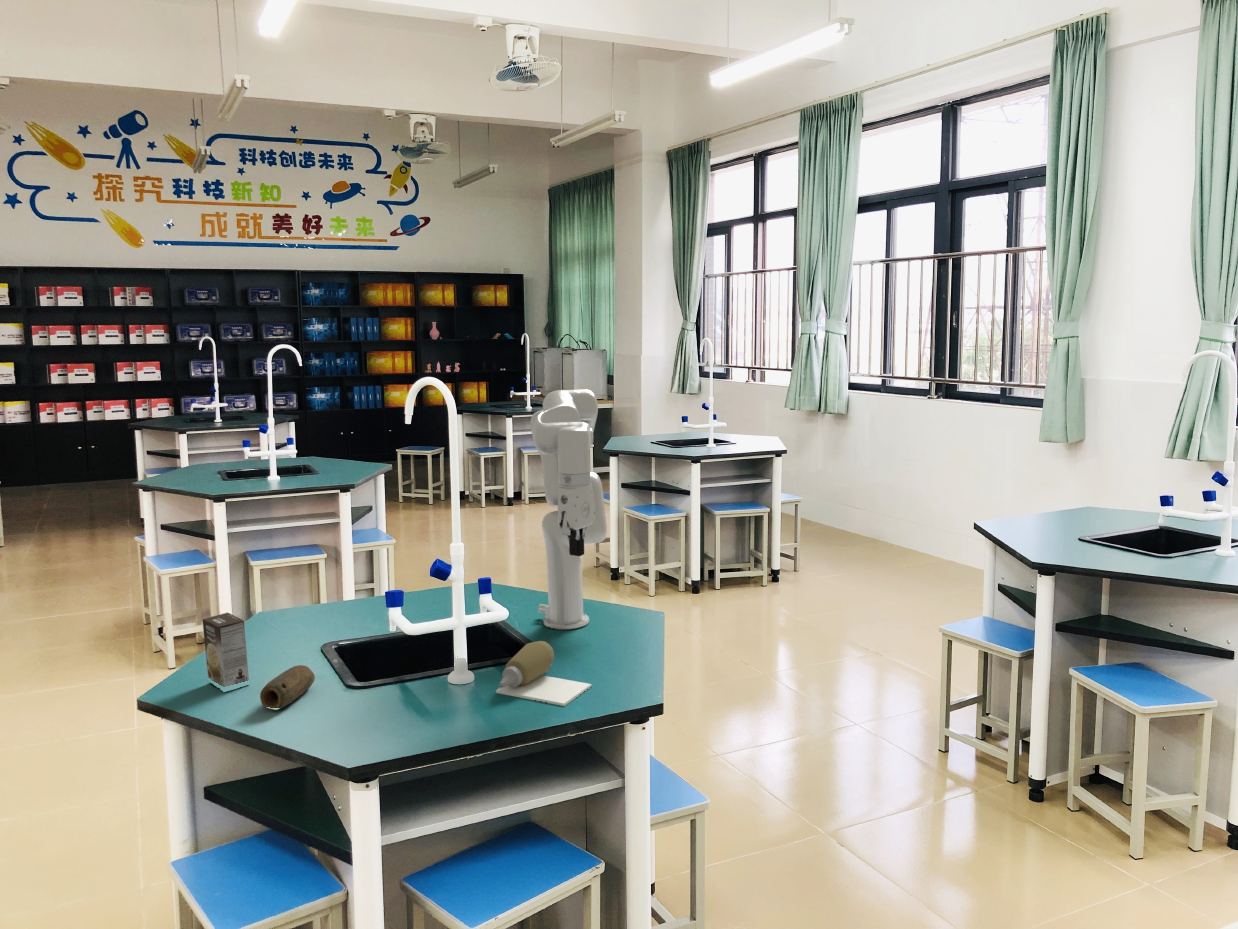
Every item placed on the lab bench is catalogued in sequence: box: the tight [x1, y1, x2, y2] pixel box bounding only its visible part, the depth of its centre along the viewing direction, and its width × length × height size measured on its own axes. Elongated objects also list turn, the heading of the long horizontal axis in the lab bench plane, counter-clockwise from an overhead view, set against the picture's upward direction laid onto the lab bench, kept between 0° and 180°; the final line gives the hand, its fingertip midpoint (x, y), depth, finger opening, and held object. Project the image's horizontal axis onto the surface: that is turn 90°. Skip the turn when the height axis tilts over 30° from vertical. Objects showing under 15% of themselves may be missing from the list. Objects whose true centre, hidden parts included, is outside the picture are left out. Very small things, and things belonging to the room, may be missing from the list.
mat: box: [495, 674, 593, 707], centre depth 214 cm, size 18×12×1 cm, turn 62°
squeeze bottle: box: [498, 640, 555, 688], centre depth 217 cm, size 8×8×18 cm
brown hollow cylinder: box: [259, 664, 316, 709], centre depth 212 cm, size 15×7×7 cm, turn 175°
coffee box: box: [201, 612, 250, 687], centre depth 222 cm, size 9×6×16 cm
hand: (576, 554), depth 225 cm, fingers closed
